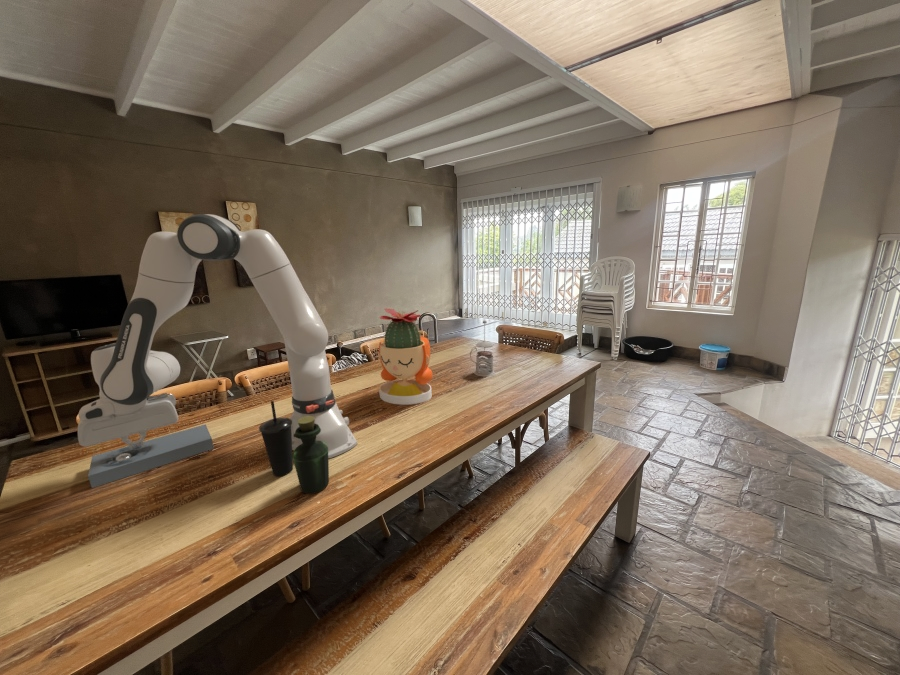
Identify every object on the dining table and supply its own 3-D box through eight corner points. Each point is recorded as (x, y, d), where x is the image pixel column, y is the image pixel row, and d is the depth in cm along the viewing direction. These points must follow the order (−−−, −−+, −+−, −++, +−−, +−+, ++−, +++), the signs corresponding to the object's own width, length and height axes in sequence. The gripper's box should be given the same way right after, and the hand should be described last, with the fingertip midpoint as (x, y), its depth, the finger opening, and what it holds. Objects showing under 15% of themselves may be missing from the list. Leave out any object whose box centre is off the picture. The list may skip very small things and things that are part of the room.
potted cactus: (422, 407, 129) (418, 314, 120) (369, 400, 136) (362, 311, 127) (442, 386, 148) (439, 304, 140) (395, 381, 155) (390, 303, 147)
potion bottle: (336, 474, 91) (328, 411, 86) (326, 496, 83) (317, 427, 78) (304, 476, 91) (295, 412, 86) (291, 497, 83) (281, 428, 78)
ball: (137, 459, 96) (120, 454, 93) (127, 472, 95) (109, 468, 92) (137, 453, 99) (121, 448, 96) (127, 466, 98) (110, 462, 95)
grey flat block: (207, 434, 113) (205, 424, 112) (213, 448, 104) (211, 438, 103) (95, 467, 96) (92, 456, 96) (91, 488, 88) (87, 476, 87)
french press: (496, 376, 158) (496, 322, 152) (470, 376, 158) (470, 322, 152) (493, 369, 168) (494, 318, 162) (469, 369, 168) (469, 318, 162)
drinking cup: (278, 483, 88) (266, 410, 83) (261, 474, 92) (248, 403, 87) (304, 467, 94) (295, 399, 89) (287, 459, 98) (277, 393, 93)
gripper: (172, 388, 103) (182, 430, 106) (72, 409, 90) (87, 457, 93) (174, 394, 98) (184, 438, 101) (69, 417, 85) (85, 467, 88)
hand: (137, 447), depth 97 cm, fingers closed
